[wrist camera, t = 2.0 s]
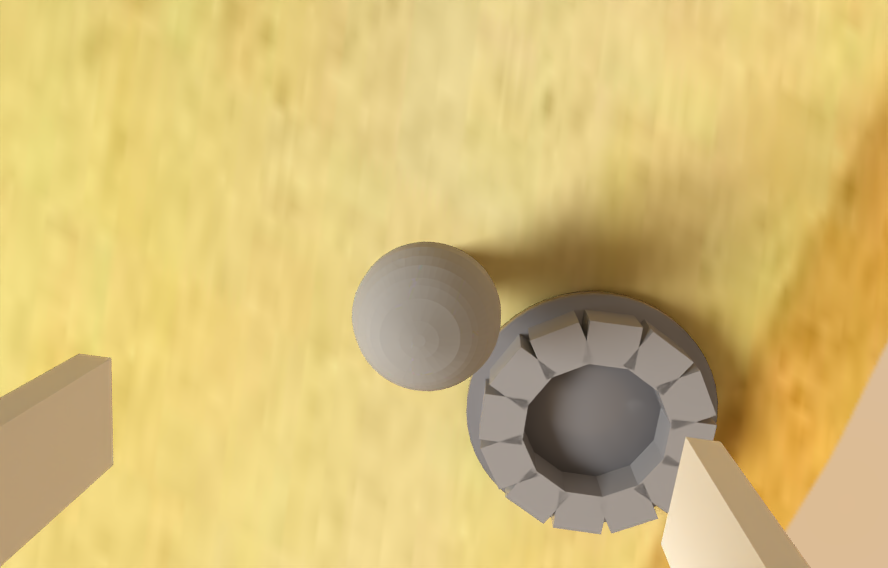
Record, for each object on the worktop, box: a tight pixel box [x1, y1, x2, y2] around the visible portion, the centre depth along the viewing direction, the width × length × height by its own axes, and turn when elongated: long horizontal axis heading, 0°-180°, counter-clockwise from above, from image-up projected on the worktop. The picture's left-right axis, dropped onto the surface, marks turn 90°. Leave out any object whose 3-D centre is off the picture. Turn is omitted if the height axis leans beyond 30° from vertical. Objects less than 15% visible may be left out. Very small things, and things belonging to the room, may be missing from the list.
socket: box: [467, 291, 718, 534], centre depth 31 cm, size 12×12×3 cm
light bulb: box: [352, 242, 501, 391], centre depth 26 cm, size 5×5×10 cm
